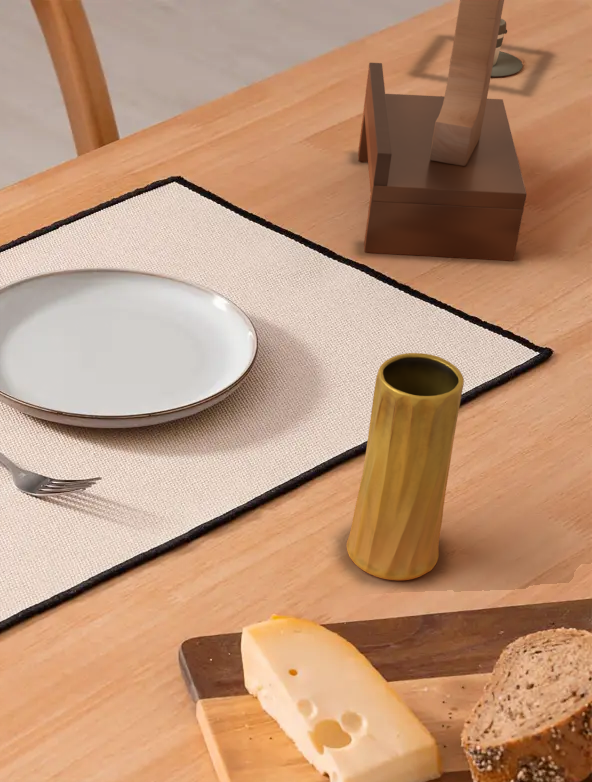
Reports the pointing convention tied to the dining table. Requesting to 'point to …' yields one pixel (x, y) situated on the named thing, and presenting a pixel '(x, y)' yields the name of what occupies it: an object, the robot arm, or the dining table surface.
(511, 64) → the coffee cup
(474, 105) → the wooden block
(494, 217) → the wooden box with backboard
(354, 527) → the vase
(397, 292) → the dining table surface
